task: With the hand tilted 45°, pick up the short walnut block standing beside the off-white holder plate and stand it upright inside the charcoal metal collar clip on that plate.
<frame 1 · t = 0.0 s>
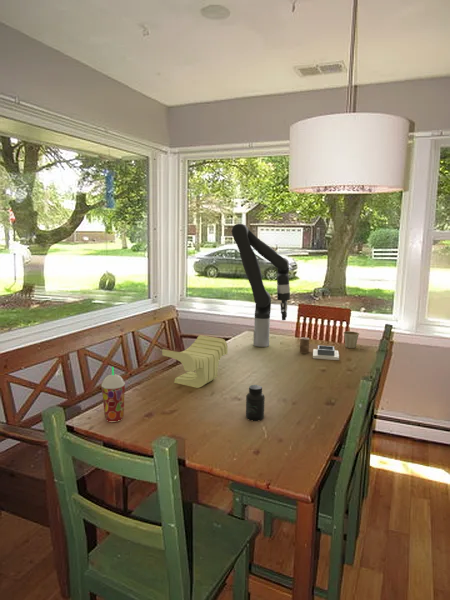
hand: (284, 318, 258), 17 cm above the table, tool pointing down, fingers open, 8 cm apart
walnut block: (304, 351, 250), on the table
slatted curved stool: (196, 381, 199), on the table
flower pot: (350, 347, 262), on the table
smoothie: (114, 420, 158), on the table
supplement bottle: (254, 418, 162), on the table
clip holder: (325, 355, 243), on the table
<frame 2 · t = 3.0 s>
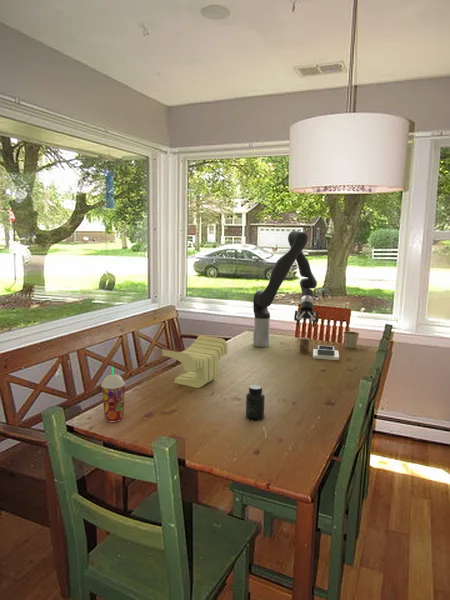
hand: (305, 326, 257), 13 cm above the table, tool tilted 45°, fingers open, 8 cm apart
nothing on the table moved.
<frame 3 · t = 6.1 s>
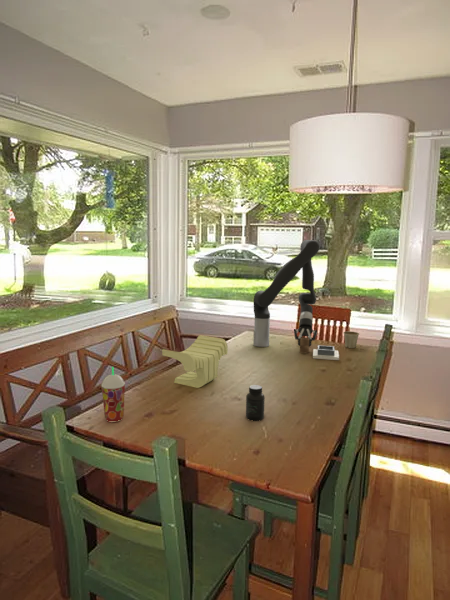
hand: (304, 345, 248), 4 cm above the table, tool tilted 45°, fingers closed on walnut block, 5 cm apart
walnut block: (304, 351, 250), on the table, touching gripper
everything else where it was.
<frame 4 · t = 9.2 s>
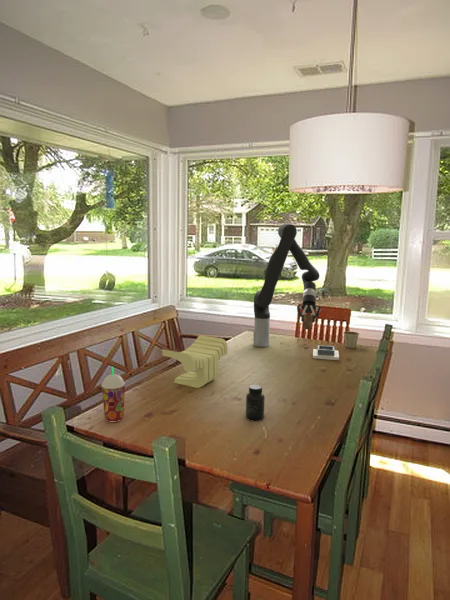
hand: (308, 321, 245), 18 cm above the table, tool tilted 45°, fingers closed on walnut block, 5 cm apart
walnut block: (307, 328, 247), point 14 cm above the table, touching gripper
everything else where it was.
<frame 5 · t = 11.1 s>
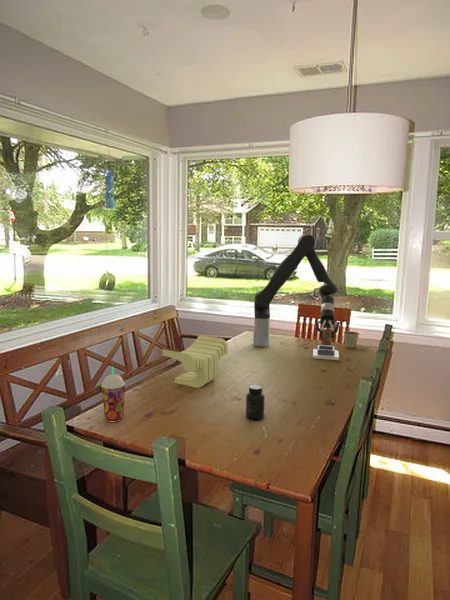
hand: (326, 337, 239), 11 cm above the table, tool tilted 45°, fingers closed on walnut block, 5 cm apart
walnut block: (326, 344, 242), point 7 cm above the table, touching gripper
everything else where it was.
when the fingers open (7 cm above the table, at t = 12.5 s): walnut block stays where it is, resting on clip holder.
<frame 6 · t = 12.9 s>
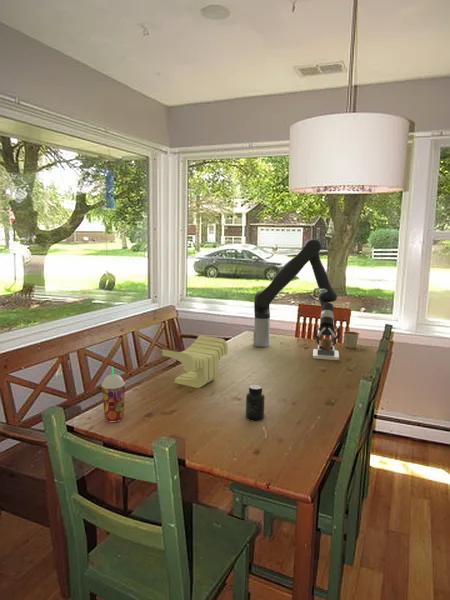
hand: (326, 343, 240), 7 cm above the table, tool tilted 45°, fingers open, 8 cm apart
walnut block: (325, 353, 243), point 1 cm above the table, touching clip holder
everything else where it was.
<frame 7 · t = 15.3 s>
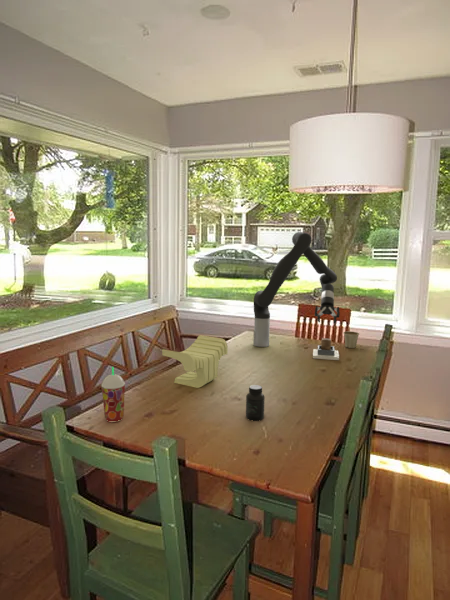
hand: (326, 322, 251), 17 cm above the table, tool tilted 45°, fingers open, 8 cm apart
nothing on the table moved.
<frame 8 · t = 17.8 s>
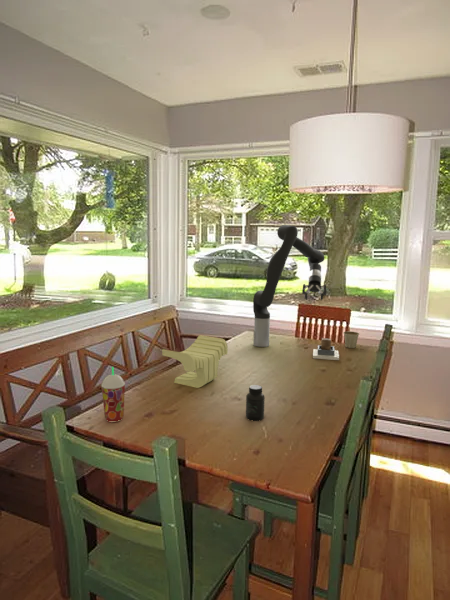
hand: (313, 299, 259), 29 cm above the table, tool tilted 45°, fingers open, 8 cm apart
nothing on the table moved.
at the end: walnut block 0.1 cm off-centre on the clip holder, point 1.5 cm above the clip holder's base; walnut block tilted 0°; the gripper is holding nothing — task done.
